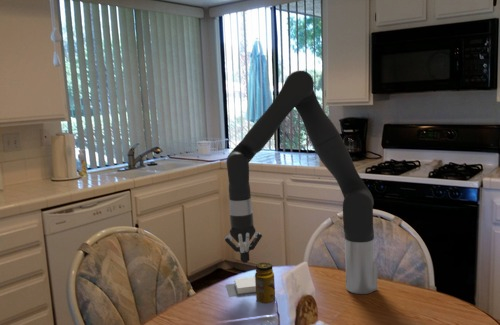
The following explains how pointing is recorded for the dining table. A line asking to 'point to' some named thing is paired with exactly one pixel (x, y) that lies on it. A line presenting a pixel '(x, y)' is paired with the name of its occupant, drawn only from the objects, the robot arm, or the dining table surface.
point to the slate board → (235, 291)
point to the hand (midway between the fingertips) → (245, 262)
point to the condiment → (264, 283)
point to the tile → (245, 285)
